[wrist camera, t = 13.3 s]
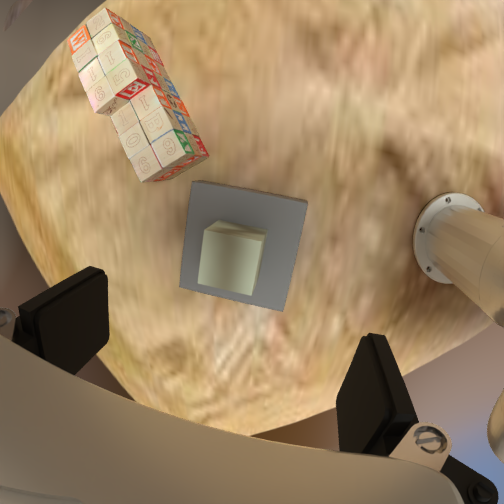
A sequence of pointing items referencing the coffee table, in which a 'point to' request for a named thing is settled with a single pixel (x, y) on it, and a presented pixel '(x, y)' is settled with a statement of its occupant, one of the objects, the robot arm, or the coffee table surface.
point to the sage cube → (232, 256)
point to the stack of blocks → (136, 96)
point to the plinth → (252, 214)
